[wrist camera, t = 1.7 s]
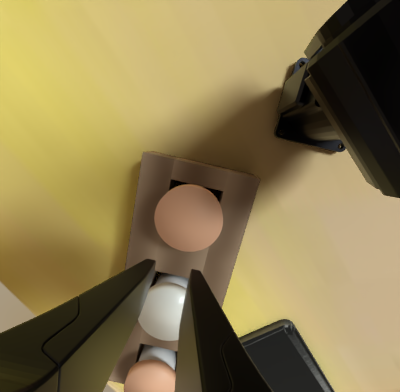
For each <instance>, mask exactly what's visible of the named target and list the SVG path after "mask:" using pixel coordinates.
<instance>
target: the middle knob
mask: <svg viewBox="0 0 400 392" xmlns="http://www.w3.org/2000/svg"><path fill="white" fill-rule="evenodd" d="M188 280H189V278H185V277H181V276H176V275H172V274H168V273H162V274H161V275H160V276H159V277H158V278H157V281H156V283H155V285H154V286H152V287H150V289H149V292H148V294H147V297H146V300H145V303H144V306H143V308H142V311H141V314H140V316H139V318H138V321H139V323H140V325H141V327H142V328H143V329H144V330H145V331H146V332H147V333H148V334H149V335H151V336H153V337H155V338H157V339H160V340H165V341H174V340H178V338H179V326H180V320H181V314H182V309H183V304H184V299H185V293H186V288H187V284H188Z"/></svg>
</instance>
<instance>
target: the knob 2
mask: <svg viewBox="0 0 400 392" xmlns="http://www.w3.org/2000/svg"><path fill="white" fill-rule="evenodd" d="M154 221H155V226H156V230H157V232H158V234H159V235H160V237H161V238H162V239H163V241H164V242H165V243H167V244H168V245H169V246H171V247H173V248H175V249H177V250H180V251H185V252H195V251H200V250H203V249H205V248H207V247H208V246H210V245H211V244H212V243H214V242H215V240H216V239H217V238H218V237H219V235H220V233H221V230H222V227H223V214H222V209H221V206H220V203H219V201H218V199H217V198H216V197H215V195H214V194H213V193H212V192H210V191H209V190H207V189H206V188H204V187H202V186H199V185H194V184H184V185H179V186H177V187H175V188H173V189H171V190H170V191H168V192H167V193H166V194H165V195H164V196H163V197H162V198H161V200H160V201H159V203H158V204H157V207H156V210H155V215H154Z"/></svg>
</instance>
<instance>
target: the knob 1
mask: <svg viewBox="0 0 400 392" xmlns="http://www.w3.org/2000/svg"><path fill="white" fill-rule="evenodd" d="M176 358H177V351H173V350H168V349H164V348H160V347H155V346H151V345H146V344H145V345H144V347H143V350H142V352H141V355H140V358H139V361H138V362H137V363H135V364H134V365H133V366H132V367H131V368H130V370H129V372H128V375H127V378H126V381H125V384H124V392H174V391H175V378H176V372H175V371H174V370H175V364H176Z"/></svg>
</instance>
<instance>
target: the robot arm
mask: <svg viewBox="0 0 400 392" xmlns="http://www.w3.org/2000/svg"><path fill="white" fill-rule="evenodd" d="M304 53H305V55H306V56H307V58H308V59H307V58H300V59H299V60H298V61H297V62H296V63H295V65H294V68H293V71H292V75H291V77H290V78H289V79H288V80H287V81H286V82H285V86H284V89H283V92H282V96H281V99H280V102H279V106H278V109H277V112H278V114H280V115H279V118H278V121H277V125H276V128H275V131H274V135H275V137H276V138H279V139H283V140H288V141H292V142H296V143H300V144H305V145H309V146H313V147H318V148H322V149H326V150H331V151H335V152H342V151H344V150H345V149H347V150H348V152H349V154H350V155H351V157H352V159H353V160H354V162H355V163H356V165H357V167H358V168H359V170H360V171H361V173H362V175H363V176H364V178H365V180H366V181H367V182H368V183H369V184H371V185H372V186H374V187H375V188H377V189H380V191H381V192H382V194H383V195H386V196H391V197H397V198H400V0H348V1H347V2H346V3H345V4H343V5H342V6H341V7H340V8H339V9H338V10H337V11H336V12H335V13H334V14H333V15H332V16H331V17H330V18H329V19H328V20H327V21H326V22H325V24H324V25H323V26H322V27H321V28H320V29H319V30H318V31H317V33H316V34H315V36H314V37H313V39H312V40H311V42H310V43H309V45H308V46H307V48H306V50H305V51H304ZM299 63H302V64H303V66H302V67H301V68H300V67H299ZM279 130H282V132H283V133H282V135H279V134H278V132H279ZM339 144H341V148H340V149H339V148H338V145H339ZM155 266H156V261H155V260H152V259H145V260H143V261H141V262H139V263H138V264H136V265H134V266H132V267H130V268H128V269H126V270H125V271H123V272H121V273H119V274H117V275H115V276H114V277H112V278H110V279H108V280H106V281H104V282H102V283H101V284H99V285H97V286H95V287H93V288H91V289H90V290H88V291H86V292H84V293H82V294H80V295H79V297H78V296H77V297H75V298H73V299H71V300H69V301H67V302H65V303H63V304H61V305H60V306H58V307H56V308H54V309H52V310H50V311H48V312H46V313H43V314H41V315H39V316H37V317H35V318H33V319H31V320H29V321H27V322H24V323H22V324H20V325H17V326H15V327H13V328H11V329H9V330H7V331H4V332H2V333H0V392H103V390H104V388H105V386H106V384H107V382H108V380H109V378H110V376H111V374H112V372H113V370H114V367H115V365H116V363H117V361H118V359H119V357H120V355H121V353H122V351H123V349H124V347H125V345H126V343H127V341H128V339H129V337H130V335H131V333H132V331H133V329H134V327H135V325H136V323H137V321H138V318H139V316H140V314H141V311H142V308H143V306H144V303H145V300H146V297H147V294H148V292H149V289H150V286H151V283H152V280H153V276H154V271H155ZM174 392H273V391H272V389H271V388H270V386H269V385H268V384H267V382H266V381H265V379H264V378H263V376H262V375H261V373H260V372H259V370H258V369H257V367H256V366H255V364H254V363H253V361H252V360H251V358H250V357H249V355H248V354H247V352H246V350H245V349H244V347H243V345H242V343H241V342H240V340H239V338H238V336H237V335H236V333H235V332H234V330H233V328H232V326H231V324H230V322H229V321H228V319H227V317H226V315H225V313H224V312H223V310H222V308H221V306H220V305H219V303H218V301H217V299H216V297H215V296H214V294H213V292H212V290H211V288H210V287H209V285H208V283H207V281H206V279H205V278H204V276H203V274H202V272H201V271H200V270H196V269H191V272H190V276H189V280H188V284H187V288H186V293H185V299H184V304H183V309H182V314H181V320H180V326H179V338H178V351H177V364H176V378H175V391H174Z"/></svg>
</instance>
